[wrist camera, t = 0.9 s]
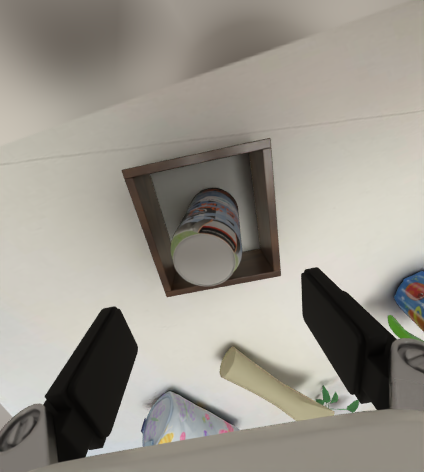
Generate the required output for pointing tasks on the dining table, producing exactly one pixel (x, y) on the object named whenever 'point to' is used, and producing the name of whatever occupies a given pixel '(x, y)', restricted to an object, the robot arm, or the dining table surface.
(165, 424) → the pencil case
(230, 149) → the open wooden box
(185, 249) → the beverage can
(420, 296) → the snack cup
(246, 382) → the flower vase
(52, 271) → the dining table surface
